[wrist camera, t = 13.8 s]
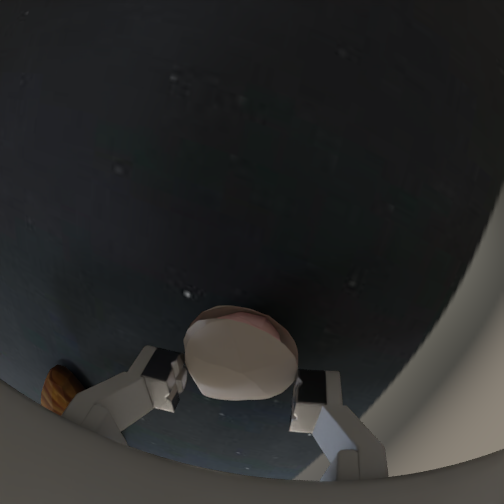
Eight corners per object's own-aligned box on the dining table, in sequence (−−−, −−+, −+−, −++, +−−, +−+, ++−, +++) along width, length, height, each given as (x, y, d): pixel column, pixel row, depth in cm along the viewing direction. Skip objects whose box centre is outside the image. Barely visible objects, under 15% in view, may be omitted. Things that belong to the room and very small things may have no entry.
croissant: (135, 462, 20) (117, 502, 15) (76, 433, 20) (55, 468, 16) (114, 382, 14) (74, 444, 10) (34, 340, 15) (-9, 385, 10)
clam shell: (319, 330, 11) (321, 378, 8) (251, 394, 13) (242, 437, 10) (221, 273, 10) (200, 313, 8) (170, 351, 12) (149, 391, 10)
